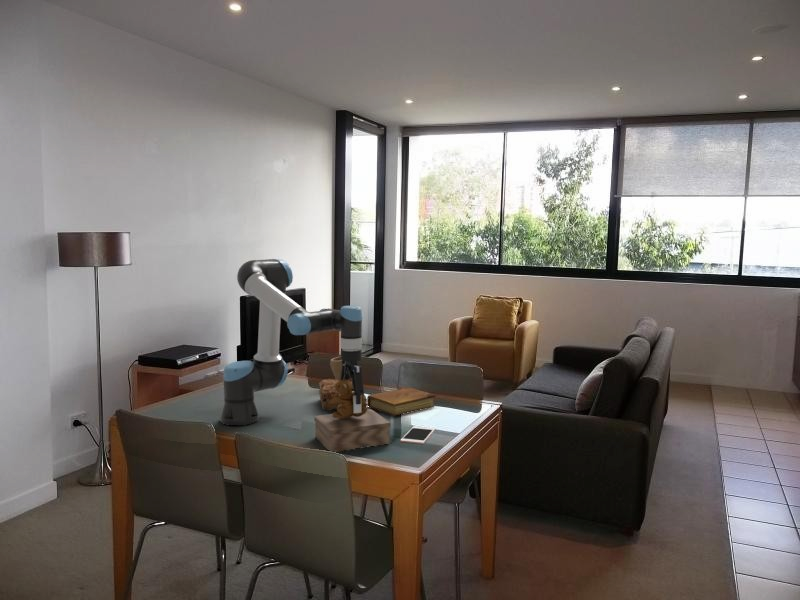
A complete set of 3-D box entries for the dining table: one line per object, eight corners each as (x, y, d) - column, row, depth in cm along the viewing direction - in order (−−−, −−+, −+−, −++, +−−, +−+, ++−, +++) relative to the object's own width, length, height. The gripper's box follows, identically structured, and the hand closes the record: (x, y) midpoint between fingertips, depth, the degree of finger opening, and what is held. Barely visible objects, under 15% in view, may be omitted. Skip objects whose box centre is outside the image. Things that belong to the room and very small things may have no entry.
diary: (407, 399, 292) (407, 386, 291) (435, 407, 278) (435, 394, 277) (367, 407, 277) (367, 394, 277) (394, 417, 263) (394, 403, 263)
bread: (318, 399, 289) (318, 378, 288) (342, 398, 291) (342, 377, 290) (321, 411, 270) (321, 388, 269) (346, 410, 272) (346, 387, 271)
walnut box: (330, 453, 220) (329, 430, 219) (314, 437, 236) (314, 416, 235) (390, 444, 229) (390, 422, 228) (371, 429, 246) (371, 409, 245)
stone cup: (325, 386, 313) (325, 356, 311) (344, 382, 321) (344, 353, 319) (344, 392, 302) (344, 361, 300) (363, 388, 309) (363, 357, 308)
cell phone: (435, 430, 246) (435, 427, 246) (423, 445, 229) (423, 442, 229) (413, 428, 249) (413, 425, 249) (400, 442, 232) (400, 440, 232)
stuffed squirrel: (338, 409, 239) (338, 375, 238) (373, 413, 235) (373, 378, 233) (327, 417, 230) (326, 381, 228) (363, 421, 225) (363, 384, 224)
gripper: (373, 354, 219) (373, 415, 222) (350, 342, 241) (350, 399, 244) (352, 356, 216) (353, 418, 219) (331, 344, 238) (331, 401, 241)
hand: (351, 408), depth 231 cm, fingers closed on stuffed squirrel, 11 cm apart
